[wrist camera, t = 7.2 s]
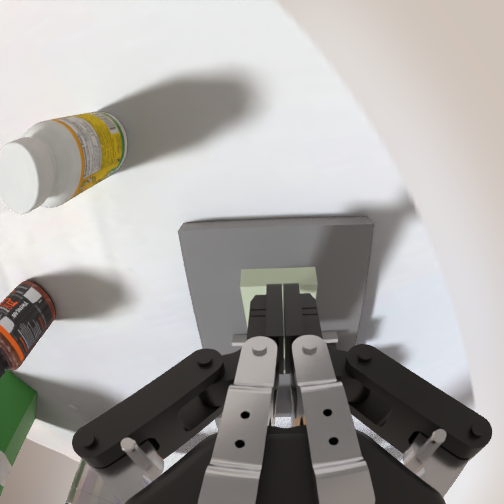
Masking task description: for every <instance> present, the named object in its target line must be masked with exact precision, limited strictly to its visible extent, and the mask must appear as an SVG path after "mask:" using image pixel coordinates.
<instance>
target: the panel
mask: <svg viewBox="0 0 504 504" xmlns="http://www.w3.org/2000/svg"><path fill="white" fill-rule="evenodd" d="M373 226H374V224H373V223H372V221H371V220H370V219H369V218H368V217H316V218H282V219H256V220H234V221H213V222H195V223H183V224H182V226H181V227H180V229H179V230H178V234H179V240H180V245H181V251H182V256H183V261H184V266H185V271H186V276H187V281H188V286H189V291H190V295H191V300H192V305H193V309H194V313H195V318H196V322H197V327H198V331H199V335H200V339H201V343H202V347H203V349H205V348H209V349H214V350H216V351H218V352H219V353H220V354H221V355H226V354H230V353H234V352H236V351H238V350H239V349H241V348H242V346H243V344H244V343H245V342H246V339H247V330H248V328H247V323H246V317H245V312H244V306H243V300H242V295H241V289H240V280H241V269H268V268H297V267H315V269H316V276H317V283H318V285H317V292H316V299H315V300H316V304H317V310H318V315H319V320H320V326H321V332H322V337H323V340H324V341H325V342H326V343H334V342H336V347H337V350H342V351H347V352H348V351H349V350H350V349H351V348H352V347H353V346H355V342H356V337H357V332H358V327H359V322H360V317H361V311H362V306H363V300H364V294H365V288H366V281H367V275H368V268H369V260H370V253H371V244H372V236H373ZM221 417H222V413H221V414H220V415H219V416H218V417H217V418H216V419H215V422H216V425H217V428H218V430H219V426H220V421H221ZM275 417H291V427H295V422H294V414H293V407H292V399H291V391H290V374H285V358H284V374H279V386H278V393H277V403H276V412H275Z"/></svg>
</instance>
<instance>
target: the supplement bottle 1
mask: <svg viewBox="0 0 504 504" xmlns="http://www.w3.org/2000/svg"><path fill="white" fill-rule="evenodd" d="M54 318H55V308H54V305H53V303H52V301H51V299H50V297H49V296H48V294H47V293H46V292H45V291H44V290H43V289H42V288H41V287H40V286H39V285H37V284H35V283H33V282H30V281H24V282H22V283H21V284H20V285H18V286H17V287H16V288H15V289H14V290H13V291H12V292H11V293H10V294H9V295H8V296H7V297H6V298H5V299H4V300H3V302H1V304H0V378H1V377H2V375H3V374H4V373H5V369H8V370H16V369H18V368H19V367H20V366H21V364H22V363H23V361H24V360H25V359H26V357H27V356H28V354H29V353H30V352H31V350H32V349H33V347H34V346H35V345H36V343H37V342H38V341H39V339H40V338H41V337H42V335H43V334H44V333H45V331H46V330H47V329H48V327H49V326H50V325H51V323H52V322H53V320H54Z"/></svg>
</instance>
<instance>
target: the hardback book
mask: <svg viewBox="0 0 504 504" xmlns="http://www.w3.org/2000/svg"><path fill="white" fill-rule="evenodd" d="M36 397H37V392H36V391H35V390H33V389H32V388H31V387H29V386H28V385H27V384H25V383H24V382H23V381H21V380H20V379H19V378H17V377H16V376H15V375H14V374H12V373H11V372H10V371H9V370H7V369H6V370H5V373H4V374H3V375H2V377H1V378H0V495H1V492H2V490H3V487H4V485H5V482H6V480H7V477H8V475H9V473H10V470H11V468H12V466H13V464H14V461H15V459H16V457H17V455H18V453H19V450H20V448H21V446H22V444H23V442H24V440H25V438H26V436H27V434H28V432H29V430H30V428H31V426H32V424H33V422H34V420H35V415H36Z"/></svg>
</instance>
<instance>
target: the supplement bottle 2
mask: <svg viewBox="0 0 504 504" xmlns="http://www.w3.org/2000/svg"><path fill="white" fill-rule="evenodd" d="M126 154H127V137H126V132H125V130H124V128H123V126H122V124H121V123H120V122H119V121H118V120H117V119H116V118H115V117H114V116H112V115H111V114H108V113H105V112H92V113H85V114H79V115H73V116H68V117H63V118H57V119H52V120H47V121H43V122H40V123H37V124H35V125H34V126H32V127H31V128H30V129H29V130H28V131H27V132H26V133H25V134H24V135H23V137H22V138H20V139H18V140H15V141H12V142H9V143H8V144H6V145H5V146H4V147H3V148H2V149H1V150H0V198H1V200H2V202H3V203H4V205H5V206H6V207H7V208H8V209H9V210H11V211H12V212H14V213H17V214H25V213H28V212H30V211H32V210H33V209H35V208H37V207H39V206H41V207H46V208H52V207H57V206H60V205H62V204H64V203H66V202H67V201H69V200H70V199H72V198H74V197H75V196H77V195H78V194H80V193H82V192H83V191H85V190H87V189H89V188H90V187H92V186H94V185H95V184H97V183H99V182H101V181H102V180H104V179H106V178H108V177H109V176H111V175H112V174H114V173H115V172H116V171H117V170H118V169H119V167H120V166H121V165H122V163H123V161H124V159H125V157H126Z"/></svg>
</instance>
